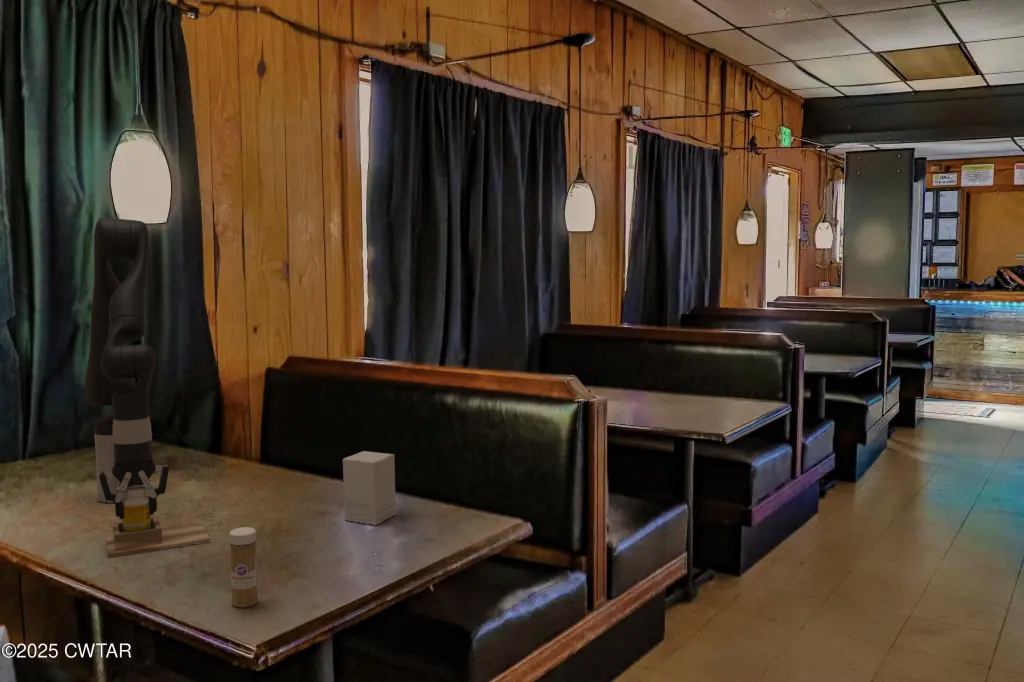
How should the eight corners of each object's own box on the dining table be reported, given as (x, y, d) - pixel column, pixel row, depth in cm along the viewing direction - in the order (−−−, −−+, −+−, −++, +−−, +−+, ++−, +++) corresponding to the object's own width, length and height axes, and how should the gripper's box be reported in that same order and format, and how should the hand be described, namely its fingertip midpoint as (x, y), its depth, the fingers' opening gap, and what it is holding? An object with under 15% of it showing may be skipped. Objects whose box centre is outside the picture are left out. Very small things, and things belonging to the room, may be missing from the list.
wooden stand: (105, 540, 185) (104, 522, 185) (202, 526, 194) (201, 509, 194) (107, 557, 175) (106, 539, 174) (210, 542, 184) (209, 524, 183)
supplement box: (397, 515, 202) (396, 453, 201) (375, 526, 194) (374, 462, 193) (365, 510, 206) (364, 449, 204) (343, 521, 198) (341, 458, 196)
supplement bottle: (123, 529, 184) (121, 486, 182) (150, 526, 186) (148, 483, 185) (124, 537, 179) (121, 492, 178) (151, 533, 181) (149, 489, 180)
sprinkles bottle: (232, 610, 149) (229, 536, 148) (231, 600, 154) (228, 528, 152) (259, 606, 151) (257, 532, 150) (257, 596, 155) (254, 525, 154)
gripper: (167, 431, 187) (170, 506, 189) (94, 438, 180) (98, 516, 182) (170, 438, 180) (174, 516, 182) (95, 445, 174) (99, 526, 175)
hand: (136, 515), depth 182 cm, fingers closed on supplement bottle, 5 cm apart
